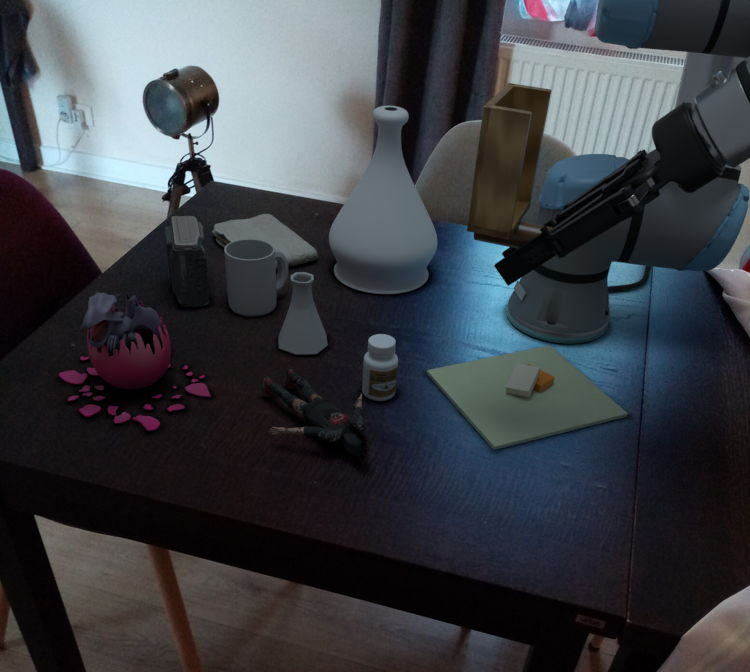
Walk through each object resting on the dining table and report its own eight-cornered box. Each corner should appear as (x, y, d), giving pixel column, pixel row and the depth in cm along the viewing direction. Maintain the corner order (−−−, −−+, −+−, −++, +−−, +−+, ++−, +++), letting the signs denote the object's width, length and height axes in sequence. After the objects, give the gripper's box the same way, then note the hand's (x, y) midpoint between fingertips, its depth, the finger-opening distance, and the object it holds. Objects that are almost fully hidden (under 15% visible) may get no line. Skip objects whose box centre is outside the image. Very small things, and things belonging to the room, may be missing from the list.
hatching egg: (39, 373, 102) (12, 276, 93) (152, 335, 110) (138, 242, 101) (113, 448, 91) (91, 346, 82) (232, 399, 99) (224, 302, 90)
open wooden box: (483, 106, 73) (589, 123, 71) (508, 82, 80) (606, 97, 78) (463, 256, 83) (556, 275, 80) (487, 223, 90) (573, 240, 88)
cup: (219, 302, 118) (214, 245, 112) (275, 286, 123) (273, 230, 117) (245, 322, 114) (241, 264, 108) (301, 304, 119) (300, 248, 113)
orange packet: (528, 363, 106) (527, 370, 107) (514, 371, 104) (512, 379, 105) (555, 376, 104) (553, 384, 105) (540, 385, 102) (539, 393, 103)
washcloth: (268, 224, 141) (267, 207, 139) (321, 263, 130) (321, 245, 128) (207, 237, 135) (206, 219, 133) (258, 278, 125) (257, 260, 123)
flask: (321, 360, 107) (321, 293, 101) (270, 352, 108) (267, 285, 102) (333, 334, 113) (335, 269, 106) (285, 327, 114) (283, 262, 107)
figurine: (320, 342, 101) (418, 412, 89) (321, 381, 105) (415, 453, 93) (228, 372, 95) (321, 452, 83) (233, 413, 99) (322, 495, 86)
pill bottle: (371, 405, 100) (374, 352, 95) (356, 387, 103) (358, 335, 98) (401, 397, 102) (406, 345, 96) (385, 380, 104) (389, 329, 99)
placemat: (549, 348, 113) (549, 344, 113) (626, 417, 101) (628, 413, 101) (426, 373, 106) (426, 369, 106) (493, 450, 94) (494, 446, 94)
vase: (315, 287, 123) (315, 117, 107) (344, 243, 136) (348, 86, 120) (423, 304, 121) (440, 133, 104) (442, 258, 134) (460, 99, 117)
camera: (211, 308, 117) (205, 244, 110) (171, 310, 116) (163, 245, 109) (207, 274, 125) (201, 212, 118) (170, 276, 124) (162, 213, 117)
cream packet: (539, 367, 102) (540, 373, 103) (516, 362, 104) (516, 369, 105) (528, 391, 100) (529, 397, 101) (505, 386, 102) (505, 393, 103)
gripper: (694, 80, 77) (503, 216, 92) (682, 121, 66) (466, 268, 80) (731, 145, 79) (539, 268, 94) (726, 196, 68) (508, 326, 83)
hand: (506, 268), depth 87 cm, fingers closed on open wooden box, 3 cm apart
